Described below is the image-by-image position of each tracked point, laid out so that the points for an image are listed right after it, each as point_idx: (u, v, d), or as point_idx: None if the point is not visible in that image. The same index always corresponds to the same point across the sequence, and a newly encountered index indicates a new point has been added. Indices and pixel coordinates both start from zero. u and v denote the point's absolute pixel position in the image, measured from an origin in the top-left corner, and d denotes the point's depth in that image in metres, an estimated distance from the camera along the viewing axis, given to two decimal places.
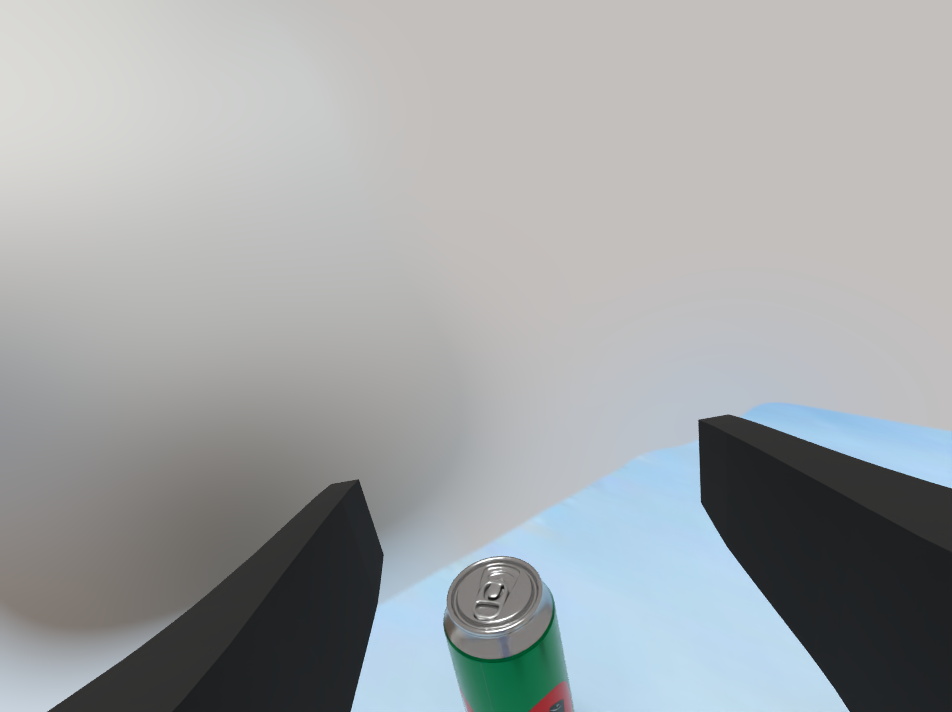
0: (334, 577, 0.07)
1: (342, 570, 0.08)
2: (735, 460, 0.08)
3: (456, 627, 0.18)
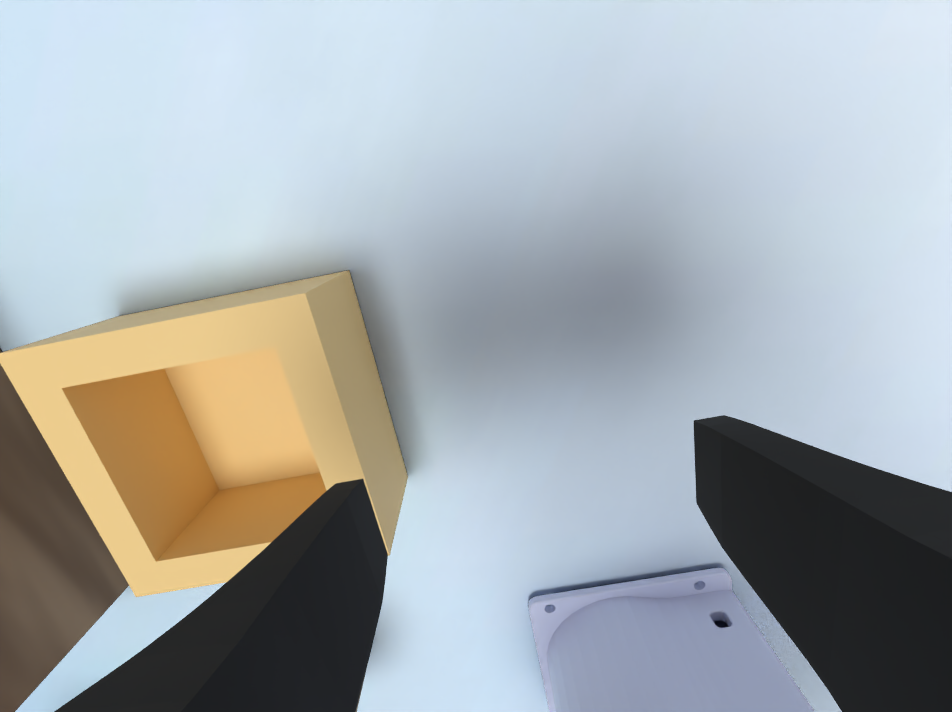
0: (340, 576, 0.07)
1: (347, 569, 0.08)
2: (730, 461, 0.08)
3: None
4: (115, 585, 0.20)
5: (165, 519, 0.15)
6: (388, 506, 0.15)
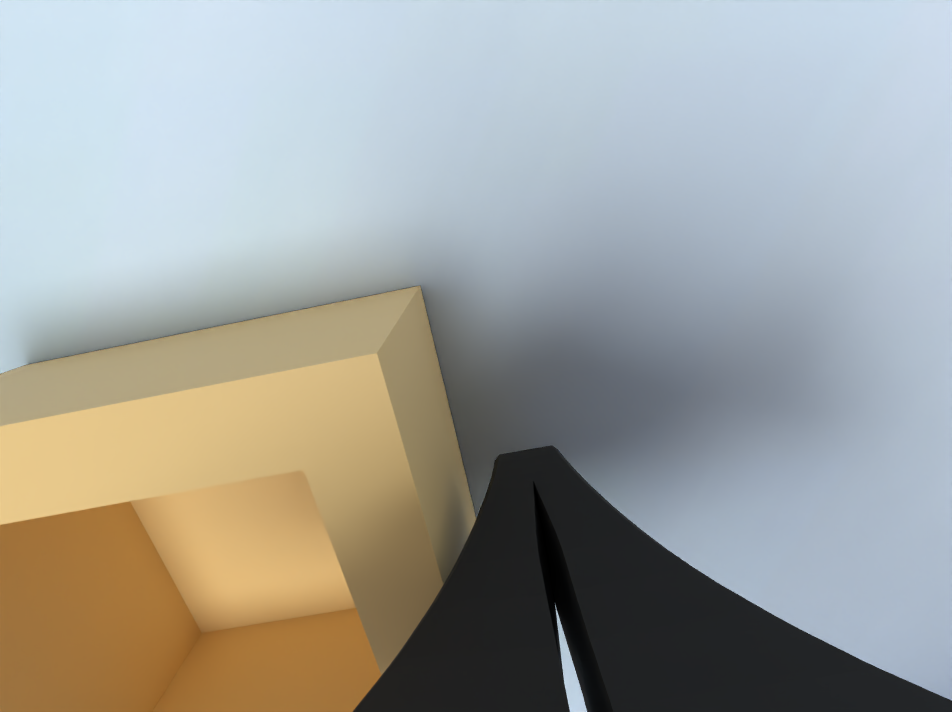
0: (542, 544, 0.07)
1: (542, 537, 0.07)
2: None
3: None
4: None
5: None
6: None
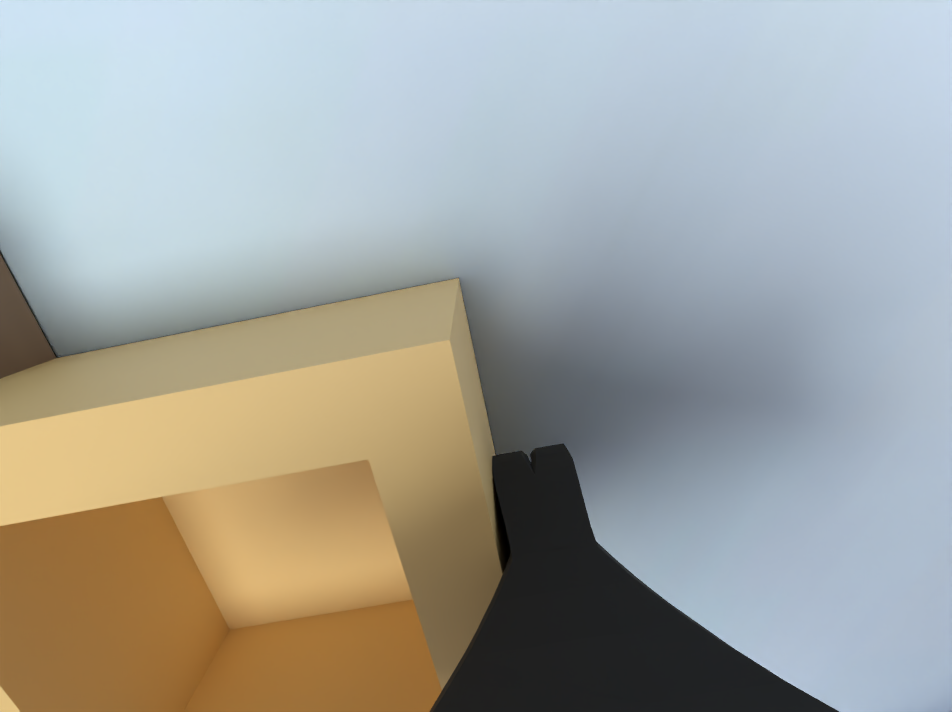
0: None
1: None
2: (498, 500, 0.08)
3: None
4: None
5: None
6: None
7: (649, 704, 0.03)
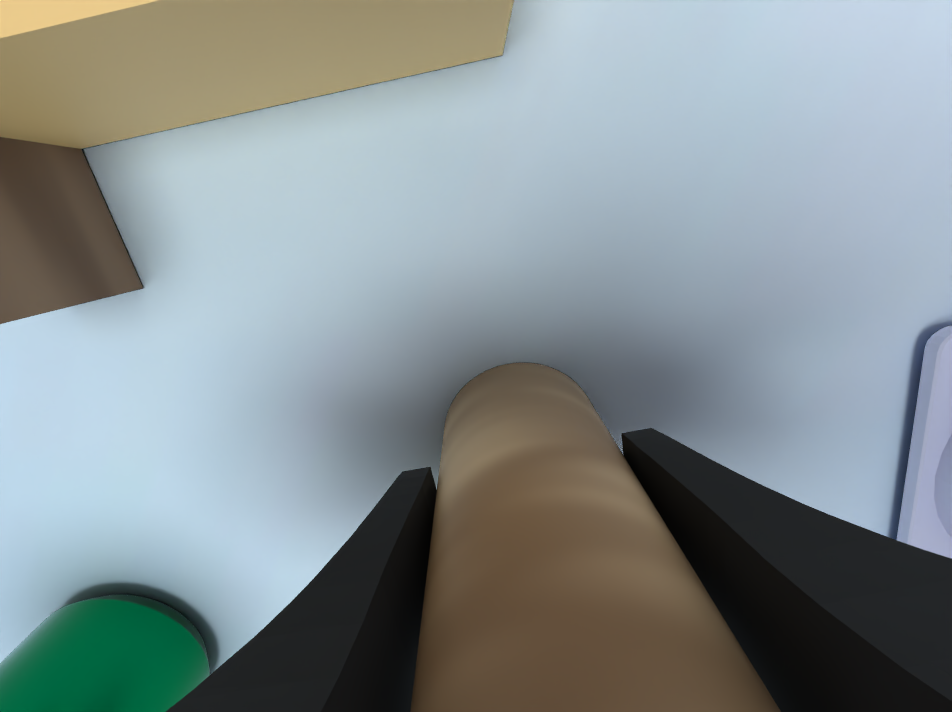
0: (423, 563, 0.07)
1: (427, 556, 0.08)
2: (646, 475, 0.08)
3: None
4: (106, 270, 0.09)
5: None
6: None
7: None
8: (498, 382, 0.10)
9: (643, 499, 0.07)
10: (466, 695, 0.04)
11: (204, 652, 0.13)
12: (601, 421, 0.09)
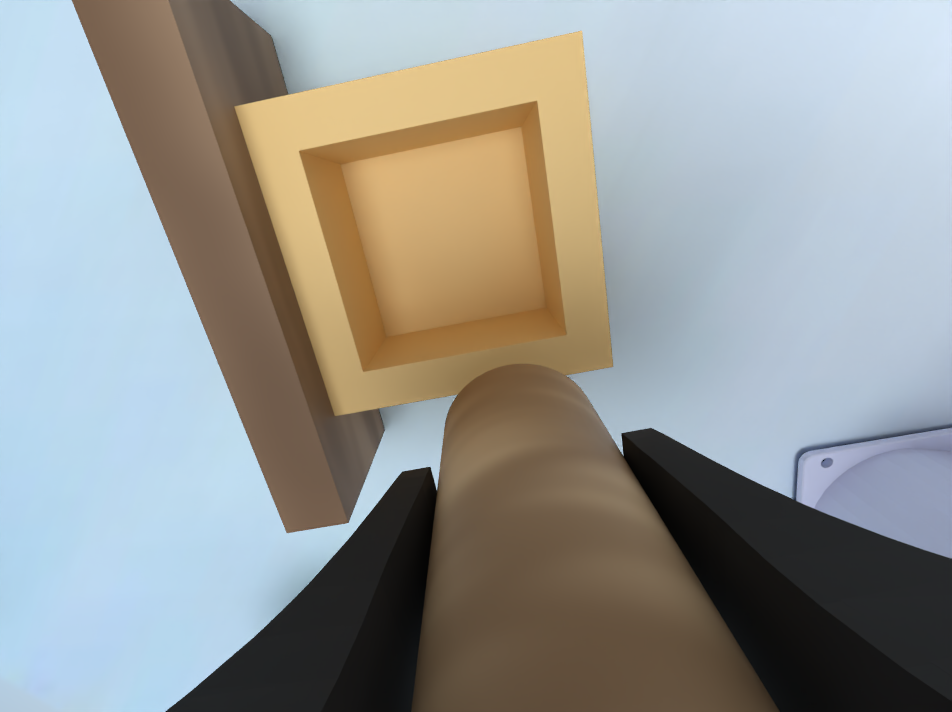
0: (422, 563, 0.07)
1: (426, 556, 0.08)
2: (646, 475, 0.08)
3: None
4: (378, 427, 0.18)
5: (363, 336, 0.14)
6: None
7: None
8: (498, 383, 0.10)
9: (643, 501, 0.07)
10: (467, 697, 0.04)
11: None
12: (601, 422, 0.09)
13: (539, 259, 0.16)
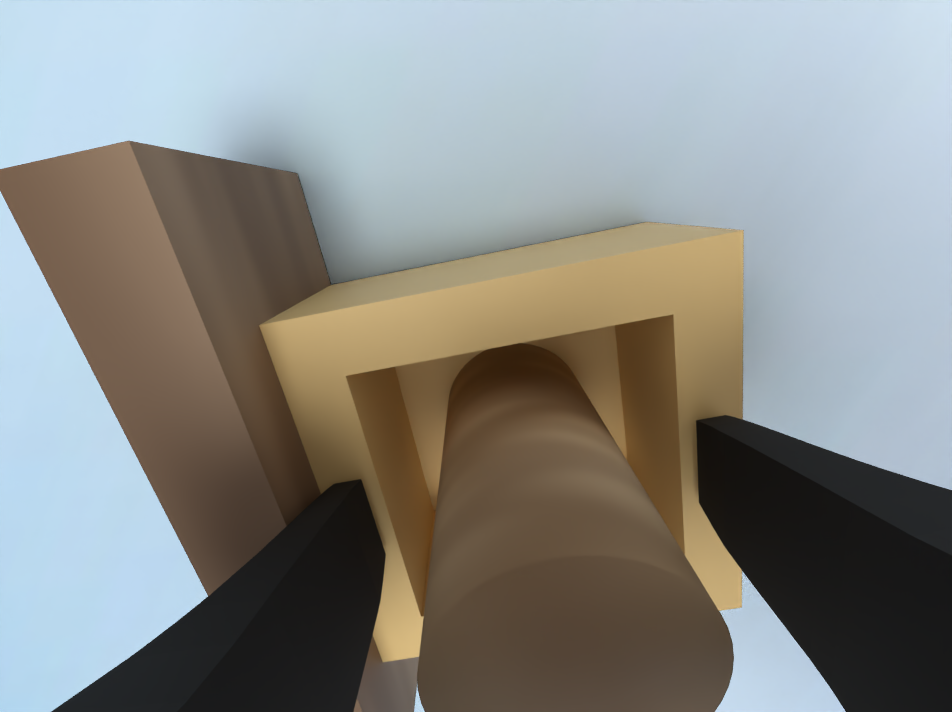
0: (337, 577, 0.07)
1: (345, 570, 0.08)
2: (732, 460, 0.08)
3: None
4: None
5: (417, 556, 0.11)
6: None
7: None
8: (495, 358, 0.12)
9: (611, 443, 0.08)
10: (469, 557, 0.06)
11: None
12: (583, 391, 0.11)
13: (624, 427, 0.13)
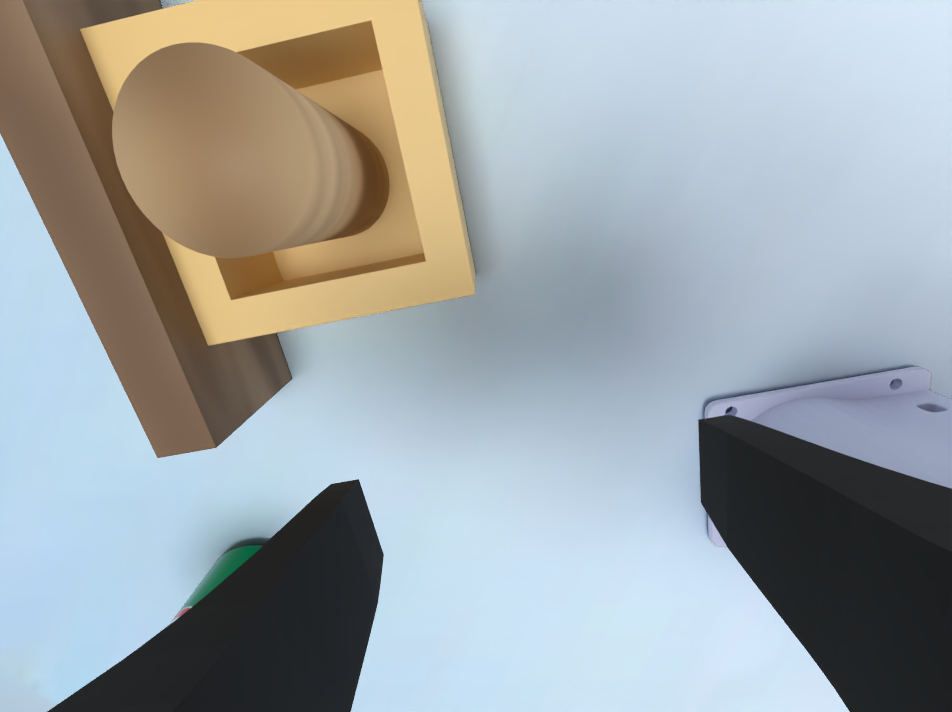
0: (334, 577, 0.07)
1: (342, 570, 0.08)
2: (735, 460, 0.08)
3: None
4: (280, 374, 0.19)
5: (238, 268, 0.15)
6: (469, 258, 0.15)
7: None
8: None
9: (322, 108, 0.11)
10: None
11: None
12: (361, 136, 0.14)
13: None
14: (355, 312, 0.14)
